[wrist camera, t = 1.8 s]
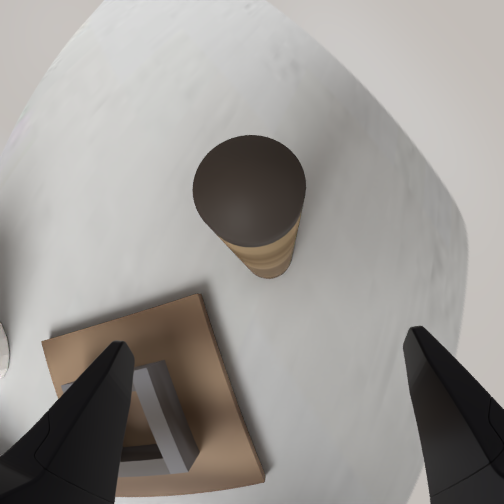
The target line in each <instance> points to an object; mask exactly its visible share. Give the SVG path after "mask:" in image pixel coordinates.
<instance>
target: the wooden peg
mask: <svg viewBox="0 0 504 504" xmlns="http://www.w3.org/2000/svg"><path fill="white" fill-rule="evenodd" d="M305 191H306V180H305V175H304V171H303V168H302V166H301V164H300V162H299V160H298V159H297V157H296V156H295V155H294V154H293V153H292V151H291V150H289V149H288V148H287V147H286V146H284V145H283V144H281V143H280V142H278V141H276V140H274V139H271V138H268V137H264V136H257V135H245V136H239V137H235V138H231V139H229V140H226V141H224V142H223V143H221V144H219V145H218V146H216V147H215V148H213V149H212V150H211V151H210V152H209V153H208V154H207V155H206V156H205V157H204V159H203V160H202V162H201V163H200V165H199V167H198V169H197V171H196V174H195V177H194V182H193V198H194V203H195V206H196V209H197V211H198V213H199V215H200V216H201V218H202V219H203V221H204V222H205V223H206V224H207V225H208V226H209V227H210V228H211V229H212V230H213V231H214V232H215V233H216V235H217V236H218V237H219V238H220V239H221V240H222V241H223V242H224V243H225V244H226V245H227V246H228V247H229V248H230V249H231V250H232V251H233V252H234V253H235V255H236V256H237V257H238V258H239V259H240V260H241V261H242V262H243V263H244V264H245V265H246V266H247V267H248V268H249V269H250V270H251V271H252V272H253V273H254V274H255V275H257V276H259V277H261V278H266V279H271V278H276V277H278V276H280V275H282V274H283V273H284V272H285V271H286V270H287V269H288V267H289V265H290V262H291V258H292V254H293V249H294V245H295V240H296V236H297V231H298V226H299V222H300V217H301V212H302V207H303V203H304V198H305Z"/></svg>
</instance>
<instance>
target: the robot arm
mask: <svg viewBox="0 0 504 504" xmlns="http://www.w3.org/2000/svg"><path fill="white" fill-rule="evenodd" d="M403 351H404V357H405V363H406V370H407V377H408V385H409V391H410V396H411V400H412V404H413V408H414V413H415V417H416V422H417V426H418V431H419V436H420V441H421V446H422V451H423V457H424V462H425V468H426V474H427V480H428V487H429V494H430V502H431V504H504V409H503V408H502V407H501V406H500V405H499V404H498V403H497V402H496V401H495V400H494V398H493V397H491V395H490V394H489V393H488V392H487V391H486V390H485V389H484V388H483V387H482V386H481V385H480V383H479V382H478V381H477V380H475V378H474V377H473V376H472V375H471V374H470V373H469V372H468V371H467V370H466V369H465V368H464V367H463V366H462V365H461V364H460V363H459V362H458V361H457V360H456V359H455V358H454V357H453V356H452V355H451V354H450V353H449V352H448V350H447V349H446V348H445V347H444V346H443V345H441V344H440V343H439V342H438V341H437V340H436V339H435V338H434V337H433V336H432V335H431V334H430V333H429V332H428V331H427V330H426V329H425V328H424V327H423V326H414V327H411V328H410V329H409V330H408V333H407V336H406V338H405V341H404V344H403ZM134 364H135V358H134V355H133V353H132V351H131V350H130V348H129V346H128V345H127V343H126V342H125V341H118V340H115V341H113V342H111V343H110V344H109V345H108V346H107V347H106V349H105V350H104V351H103V352H102V353H101V354H100V355H99V356H98V357H97V358H96V359H95V360H94V361H93V362H92V363H91V364H90V365H89V366H88V368H87V369H86V370H85V371H84V372H83V373H82V374H81V375H80V376H79V377H78V378H77V379H76V380H75V382H74V383H73V384H72V385H71V386H70V387H69V388H68V389H67V390H66V391H65V392H64V393H63V395H62V396H61V397H60V398H59V399H58V400H57V401H56V402H55V403H54V404H53V406H52V407H51V408H50V409H49V411H47V412H46V413H45V414H44V415H43V417H42V418H41V419H40V420H39V421H38V422H37V423H36V424H35V425H34V426H33V427H32V428H31V429H30V430H29V431H28V432H27V433H26V434H25V435H24V436H23V437H22V438H21V439H20V440H19V441H18V442H16V443H15V444H14V445H13V446H12V447H11V448H10V449H9V450H8V451H7V452H6V453H4V454H3V455H2V456H0V504H114V502H115V495H116V487H117V480H118V473H119V466H120V460H121V453H122V447H123V441H124V436H125V430H126V425H127V419H128V414H129V409H130V403H131V395H132V384H133V374H134Z"/></svg>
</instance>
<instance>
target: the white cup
mask: <svg viewBox="0 0 504 504" xmlns="http://www.w3.org/2000/svg"><path fill="white" fill-rule="evenodd" d="M8 364H9V348H8V341H7V337H6V334H5V332H4V329H3V326H2V324H1V323H0V378H3V377H4V375H5V373H6V371H7V369H8Z"/></svg>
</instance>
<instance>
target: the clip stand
mask: <svg viewBox="0 0 504 504" xmlns="http://www.w3.org/2000/svg"><path fill="white" fill-rule="evenodd" d="M115 340H118V341H125V342H126V343H127V345H128V346H129V348H130V350H131V351H132V353H133V355H134V358H135V364H134V374H133V384H132V395H131V403H130V409H129V414H128V419H127V425H126V430H125V436H124V441H123V447H122V453H121V460H120V466H119V473H118V480H117V487H116V495H115V497H155V496H173V495H185V494H195V493H204V492H212V491H219V490H226V489H232V488H238V487H244V486H249V485H254V484H259V483H264V482H265V473H264V471H263V468H262V466H261V463H260V461H259V458H258V456H257V453H256V451H255V448H254V445H253V443H252V440H251V438H250V435H249V432H248V430H247V427H246V424H245V422H244V419H243V416H242V414H241V411H240V408H239V406H238V403H237V400H236V397H235V394H234V392H233V389H232V386H231V383H230V380H229V377H228V375H227V372H226V369H225V366H224V363H223V360H222V357H221V354H220V351H219V348H218V345H217V342H216V339H215V336H214V333H213V330H212V327H211V324H210V320H209V317H208V314H207V311H206V308H205V304H204V301H203V298H202V295H201V294H198V293H197V294H194V295H191V296H188V297H185V298H182V299H179V300H175V301H172V302H169V303H166V304H163V305H160V306H157V307H153V308H150V309H147V310H144V311H141V312H137V313H134V314H131V315H128V316H124V317H121V318H118V319H115V320H111V321H108V322H105V323H102V324H98V325H95V326H92V327H88V328H85V329H82V330H78V331H75V332H72V333H68V334H65V335H61V336H58V337H55V338H51V339H48V340H44V341H41V342H42V346H43V350H44V354H45V358H46V361H47V365H48V368H49V371H50V375H51V378H52V381H53V384H54V387H55V390H56V393H57V396H58V399H59V398H60V397H61V396H62V395H63V393H64V392H65V391H66V390H67V389H68V388H69V387H70V386H71V385H72V384H73V383H74V382H75V380H76V379H77V378H78V377H79V376H80V375H81V374H82V373H83V372H84V371H85V370H86V369H87V368H88V366H89V365H90V364H91V363H92V362H93V361H94V360H95V359H96V358H97V357H98V356H99V355H100V354H101V353H102V352H103V351H104V350H105V349H106V347H107V346H108V345H109V344H110V343H111V342H113V341H115Z"/></svg>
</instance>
